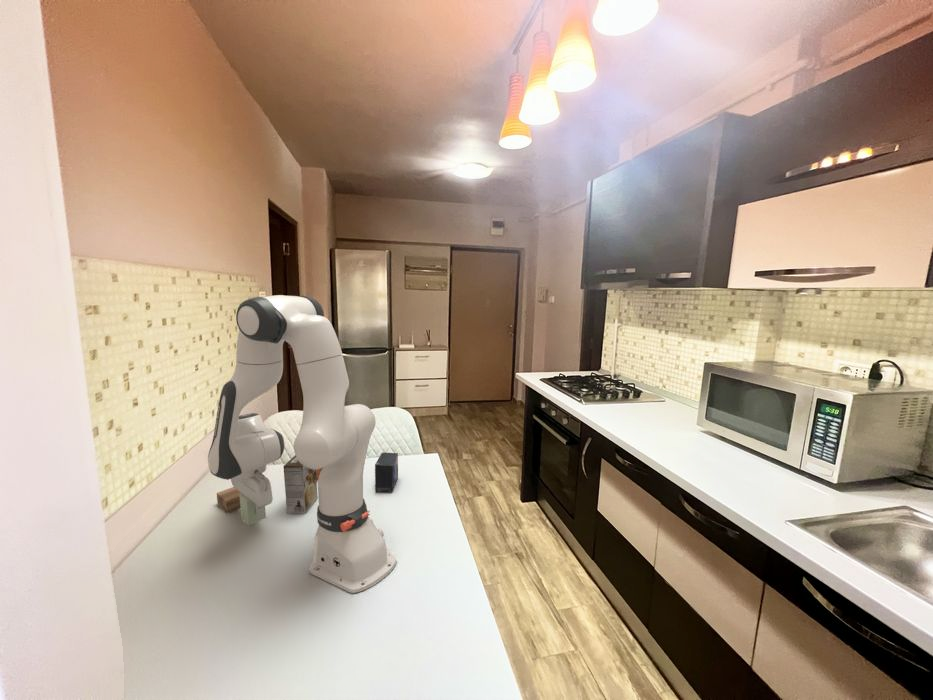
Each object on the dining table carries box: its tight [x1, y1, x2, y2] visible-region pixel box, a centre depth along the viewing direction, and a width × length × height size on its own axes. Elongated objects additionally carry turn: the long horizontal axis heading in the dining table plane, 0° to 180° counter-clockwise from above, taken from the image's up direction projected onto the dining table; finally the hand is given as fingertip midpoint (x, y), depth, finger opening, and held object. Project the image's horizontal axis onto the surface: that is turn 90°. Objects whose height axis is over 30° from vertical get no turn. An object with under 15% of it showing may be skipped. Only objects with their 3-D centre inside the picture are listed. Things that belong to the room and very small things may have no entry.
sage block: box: [239, 494, 267, 526], centre depth 116 cm, size 5×5×8 cm
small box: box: [374, 451, 399, 494], centre depth 136 cm, size 11×6×10 cm, turn 179°
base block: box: [216, 486, 241, 514], centre depth 124 cm, size 8×8×4 cm
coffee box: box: [283, 454, 318, 515], centre depth 122 cm, size 9×6×16 cm
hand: (253, 508), depth 116 cm, fingers open, 7 cm apart
